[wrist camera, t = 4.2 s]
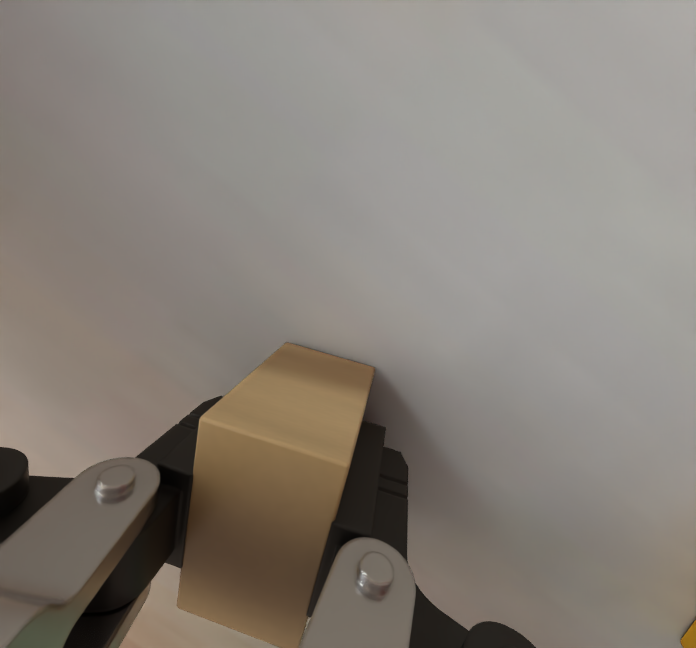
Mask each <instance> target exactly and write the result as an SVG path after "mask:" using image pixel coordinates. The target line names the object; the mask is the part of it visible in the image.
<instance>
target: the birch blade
mask: <svg viewBox="0 0 696 648" xmlns="http://www.w3.org/2000/svg"><path fill="white" fill-rule="evenodd" d="M374 373H375V368H374V367H371V366H368V365H364V364H361V363H357V362H354V361H350V360H347V359H343V358H340V357H336V356H333V355H330V354H326V353H323V352H319V351H316V350H312V349H309V348H305V347H302V346H298V345H295V344H291V343H288V342H287V343H285V344H284V345H283V346H281V347H280V348H279V349H278V350H277V351H276V352H274V353H273V354H272V355H271V356H270V357H269V358H268V359H266V360H265V361H264V362H263V363H262V364H261V365H260V366H258V367H257V368H256V369H255V370H254V371H253V372H252V373H250V374H249V375H248V376H247V377H246V378H245V379H243V380H242V381H241V382H240V383H239V384H238V385H237V386H235V387H234V388H233V389H232V390H231V391H230V392H229V393H227V394H226V395H225V396H224V397H223V398H222V399H220V400H219V401H218V402H217V403H216V404H215V405H214V406H212V407H211V408H210V409H209V410H208V411H207V412H206V413H204V414H203V415H202V416H201V417H200V419H199V427H198V435H197V443H196V451H195V460H194V468H193V474H194V475H193V483H192V491H191V500H190V508H189V516H188V524H187V532H186V540H185V548H184V557H183V565H182V568H181V575H180V583H179V591H178V600H177V607H178V608H179V609H182V610H185V611H187V612H190V613H192V614H195V615H197V616H200V617H203V618H205V619H208V620H210V621H213V622H216V623H218V624H221V625H223V626H226V627H228V628H231V629H234V630H236V631H239V632H241V633H244V634H247V635H249V636H252V637H254V638H257V639H260V640H262V641H265V642H267V643H270V644H272V645H275V646H278V647H280V648H299V646H300V643H301V640H302V637H303V633H304V630H305V626H306V622H307V619H308V616H306V614H307V611H308V607H309V603H310V600H311V596H312V593H313V589H314V585H315V582H316V578H317V574H318V571H319V567H320V564H321V560H322V556H323V553H324V549H325V546H326V542H327V538H328V535H329V531H330V528H331V524H332V521H334V520H335V519H336V515H337V511H338V508H339V504H340V501H341V497H342V493H343V490H344V486H345V483H346V479H347V476H348V472H349V468H350V465H351V461H352V457H353V453H354V449H355V446H356V442H357V438H358V434H359V430H360V426H361V423H362V419H363V415H364V411H365V407H366V403H367V400H368V396H369V392H370V388H371V384H372V380H373V377H374Z"/></svg>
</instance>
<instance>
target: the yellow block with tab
mask: <svg viewBox="0 0 696 648" xmlns="http://www.w3.org/2000/svg"><path fill="white" fill-rule="evenodd" d="M680 642H681V645H682V646H683V648H696V620H695V621H694V623H693V624H692V625H691V627H690V628H689V629H688V631H687V632H686V633H685V635H684V636H683V637H682V639H681V641H680Z"/></svg>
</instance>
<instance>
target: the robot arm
mask: <svg viewBox="0 0 696 648" xmlns="http://www.w3.org/2000/svg"><path fill="white" fill-rule="evenodd" d="M222 398H223V396H219V397H216V398H214V399H211V400H208V401H205V402H203V403H202V404H201V405H199V406H198V407H197V408H196V409H194V410H193V411H192V412H191V413H190V415H187V416H186V417H185V418H183V419H182V420H181V421H180V422H179V424H176V425H175V426H173V427H172V428H171V429H170V430H169V431H167V432H166V433H165V434H164V435H162V436H161V437H160V438H159V439H157V440H156V441H155V442H154V443H153V444H151V445H150V446H149V447H148V448H146V449H145V450H144V451H143V452H141V453H140V454H139V455H138V456H137V457H135V458H134V457H122V458H115V459H110V460H106V461H103V462H100V463H97V464H95V465H93V466H91V467H89V468H87V469H86V470H84V471H83V472H81V473H80V474H79V475H78V476H77V477H75V478H61V477H42V476H29V470H28V459H27V457H26V456H25V455H24V454H23V453H22V452H20V451H18V450H15V449H11V448H4V447H0V648H119V646H120V645H121V643H122V641H123V639H124V638H125V636H126V634H127V632H128V631H129V629H130V627H131V625H132V624H133V622H134V620H135V618H136V617H137V615H138V613H139V611H140V610H141V608H142V606H143V604H144V603H145V601H146V599H147V597H148V594H149V591H150V587H151V580H152V579H153V578H154V576H155V575H156V574H157V572H158V571H159V570H160V568H161V567H162V566H163V564H164V563H168V564H171V565H173V566H176V567H179V568H182V565H183V557H184V548H185V540H186V532H187V524H188V516H189V508H190V500H191V491H192V483H193V475H194V474H193V468H194V460H195V451H196V443H197V435H198V427H199V419H200V417H201V416H202V415H203V414H204V413H206V412H207V411H208V410H209V409H210V408H211V407H212V406H214V405H215V404H216V403H217V402H218V401H219V400H220V399H222ZM385 431H386V427H383V426H380V425H376V424H373V423H370V422H367V421H363V420H362V423H361V426H360V430H359V434H358V438H357V442H356V446H355V449H354V453H353V457H352V461H351V465H350V468H349V472H348V476H347V479H346V483H345V486H344V490H343V493H342V497H341V501H340V504H339V508H338V511H337V515H336V519H335V520H334V521H332V524H331V528H330V531H329V535H328V538H327V542H326V546H325V549H324V553H323V556H322V560H321V564H320V567H319V571H318V574H317V578H316V582H315V585H314V589H313V593H312V596H311V600H310V603H309V607H308V611H307V614H306V616H308V617H311V619H310V621H309V623H308V626H307V628H306V631H305V633H304V636H303V638H302V641H301V643H300V646H299V648H536V647H535V646H534V645H533V644H532V643H531V642H530V641H529V640H527V639H526V638H525V637H524V636H522V635H521V634H520V633H518V632H517V631H515V630H514V629H512V628H510V627H508V626H506V625H503V624H500V623H497V622H491V621H488V622H481V623H478V624H476V625H475V626H473V627H472V628H471V630H470V631H468V630H467V629H465V628H464V627H463V626H461V625H460V624H458V623H457V622H456V621H454V620H453V619H451V618H450V617H449V616H447V615H446V614H444V613H443V612H442V611H440V610H439V609H438V608H437V607H435V606H434V605H433V604H432V603H431V602H430V601H429V600H428V599H427V598H426V597H425V596H424V594H423V593H422V592H421V591H420V589H419V588H418V586H417V585H416V583H415V579H414V576H413V573H412V571H411V568H410V566H409V565H408V561H407V521H408V500H407V497H408V486H407V485H408V466H407V464H406V462H405V460H404V458H403V456H402V454H401V452H399V451H396V450H393V449H389V448H386V447H383V446H384V438H385Z"/></svg>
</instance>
